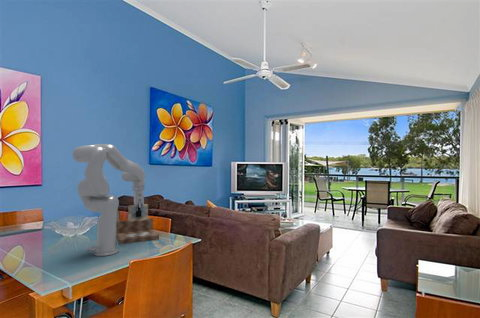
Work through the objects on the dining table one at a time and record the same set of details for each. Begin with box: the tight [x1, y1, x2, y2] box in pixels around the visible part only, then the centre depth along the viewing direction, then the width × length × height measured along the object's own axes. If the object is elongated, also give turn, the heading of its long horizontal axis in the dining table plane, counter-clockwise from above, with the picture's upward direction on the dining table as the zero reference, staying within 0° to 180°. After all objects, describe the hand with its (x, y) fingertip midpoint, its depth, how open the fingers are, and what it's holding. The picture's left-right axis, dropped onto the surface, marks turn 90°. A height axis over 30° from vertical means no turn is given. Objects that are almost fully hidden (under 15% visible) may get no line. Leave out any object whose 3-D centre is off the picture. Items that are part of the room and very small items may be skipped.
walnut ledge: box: [116, 217, 160, 245], centre depth 179 cm, size 24×20×10 cm
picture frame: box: [127, 203, 149, 222], centre depth 178 cm, size 12×5×10 cm, turn 121°
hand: (138, 216), depth 178 cm, fingers closed on picture frame, 2 cm apart
